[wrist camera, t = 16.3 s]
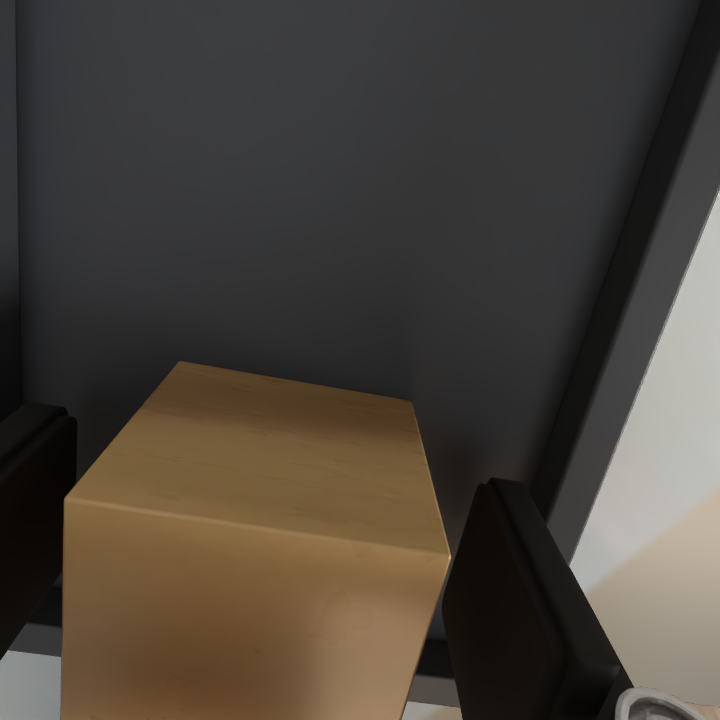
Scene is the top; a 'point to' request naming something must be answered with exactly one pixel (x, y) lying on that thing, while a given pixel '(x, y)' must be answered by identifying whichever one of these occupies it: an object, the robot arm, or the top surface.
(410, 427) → the maple block
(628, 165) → the dark grey flat tray
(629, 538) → the top surface
